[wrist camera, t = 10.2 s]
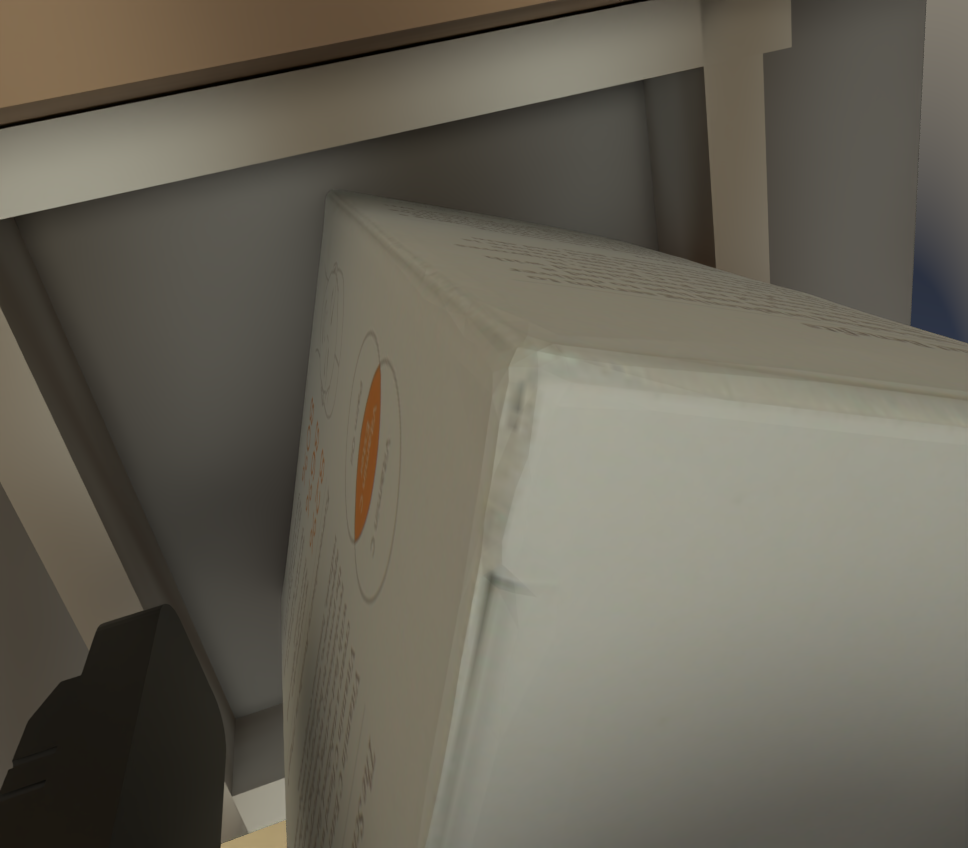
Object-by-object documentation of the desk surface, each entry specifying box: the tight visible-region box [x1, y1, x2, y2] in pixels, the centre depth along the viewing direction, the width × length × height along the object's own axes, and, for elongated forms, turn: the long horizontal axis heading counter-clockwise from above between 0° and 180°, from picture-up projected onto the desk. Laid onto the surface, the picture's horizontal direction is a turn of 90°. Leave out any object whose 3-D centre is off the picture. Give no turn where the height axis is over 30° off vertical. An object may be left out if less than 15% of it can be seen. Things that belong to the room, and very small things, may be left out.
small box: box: [281, 190, 968, 848], centre depth 10 cm, size 8×6×10 cm
